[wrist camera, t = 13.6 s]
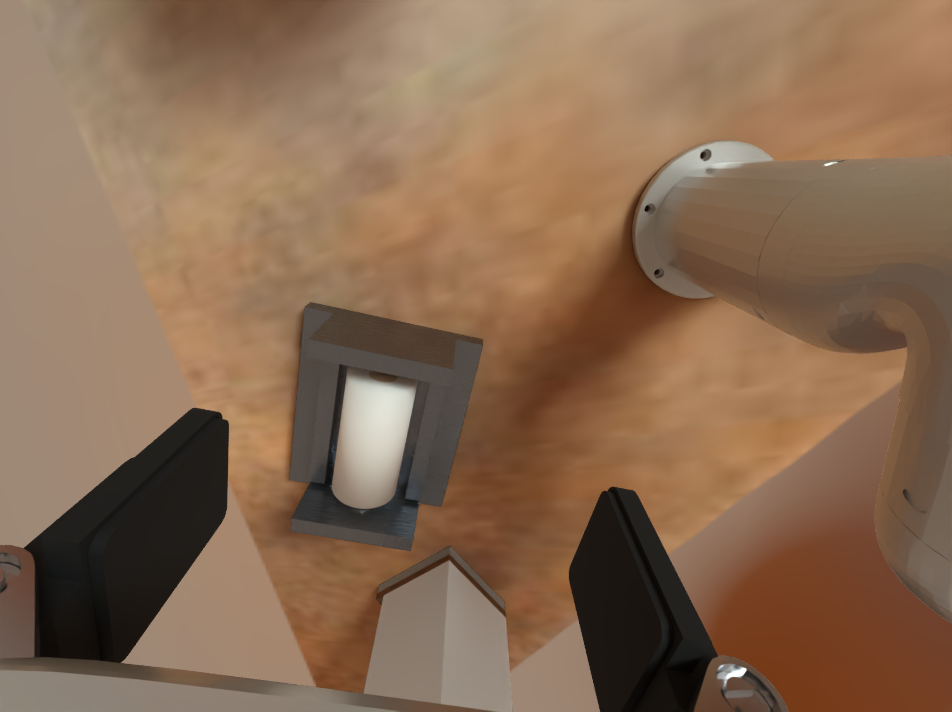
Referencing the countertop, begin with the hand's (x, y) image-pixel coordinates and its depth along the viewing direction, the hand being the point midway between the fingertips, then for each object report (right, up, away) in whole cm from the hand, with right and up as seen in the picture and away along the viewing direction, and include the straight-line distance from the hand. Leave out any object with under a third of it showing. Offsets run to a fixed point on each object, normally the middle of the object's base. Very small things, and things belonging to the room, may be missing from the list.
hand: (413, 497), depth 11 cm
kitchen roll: (-8, -4, +29) cm, 31 cm away
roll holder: (-8, -2, +34) cm, 34 cm away
